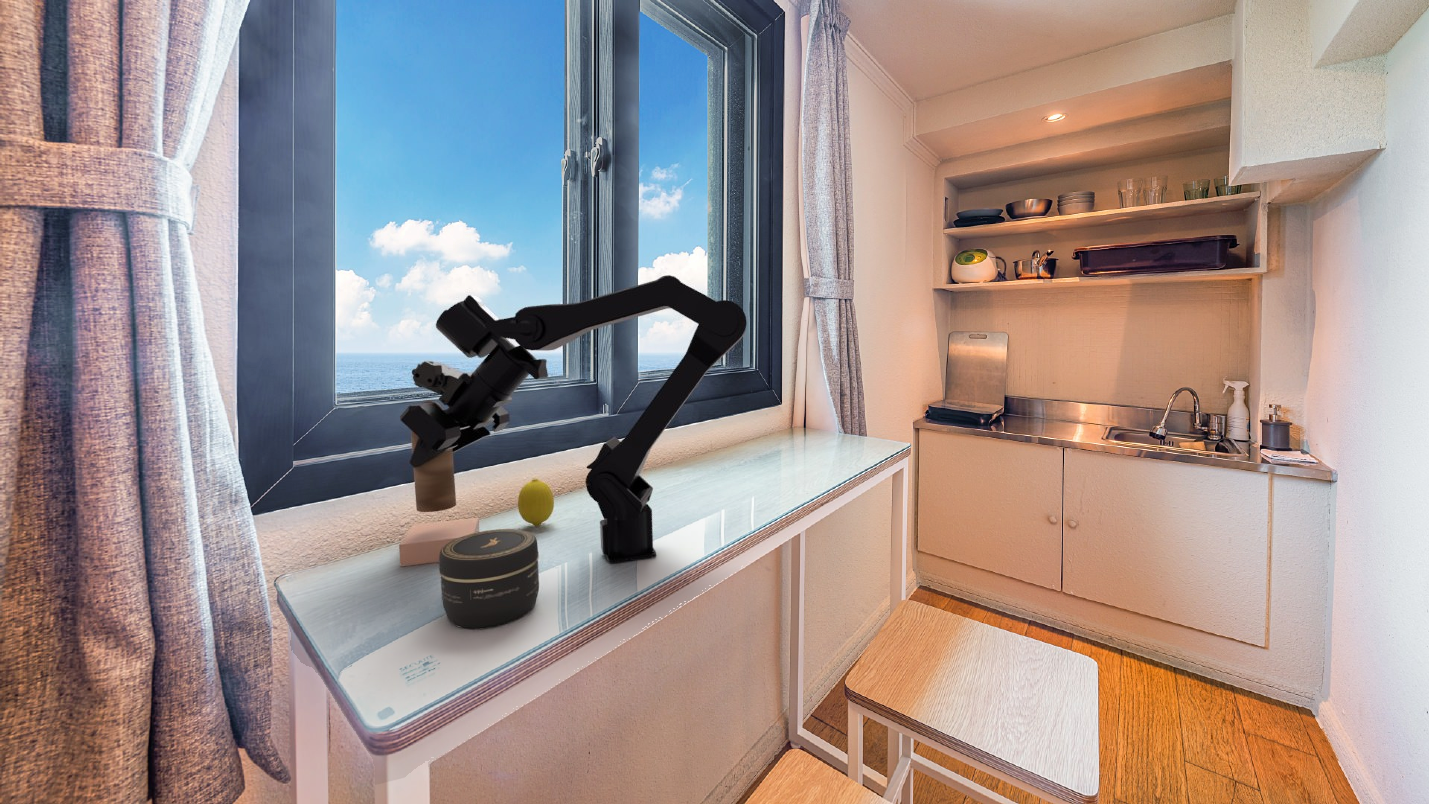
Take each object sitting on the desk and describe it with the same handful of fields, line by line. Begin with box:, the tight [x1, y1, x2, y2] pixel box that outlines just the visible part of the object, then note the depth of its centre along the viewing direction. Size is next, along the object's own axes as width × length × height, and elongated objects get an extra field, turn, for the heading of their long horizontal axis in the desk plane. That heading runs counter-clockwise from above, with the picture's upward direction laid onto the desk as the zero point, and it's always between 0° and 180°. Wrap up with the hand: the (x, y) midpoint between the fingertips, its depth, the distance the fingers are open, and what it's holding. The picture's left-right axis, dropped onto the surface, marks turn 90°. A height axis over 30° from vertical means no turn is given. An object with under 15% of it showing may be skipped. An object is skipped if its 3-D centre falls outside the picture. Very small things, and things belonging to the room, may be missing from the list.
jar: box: [438, 528, 540, 630], centre depth 58 cm, size 10×10×8 cm
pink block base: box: [398, 517, 480, 568], centre depth 76 cm, size 9×9×3 cm
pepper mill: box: [410, 400, 457, 513], centre depth 74 cm, size 5×5×15 cm
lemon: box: [517, 478, 555, 528], centre depth 86 cm, size 6×6×8 cm
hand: (424, 461), depth 75 cm, fingers closed on pepper mill, 5 cm apart
